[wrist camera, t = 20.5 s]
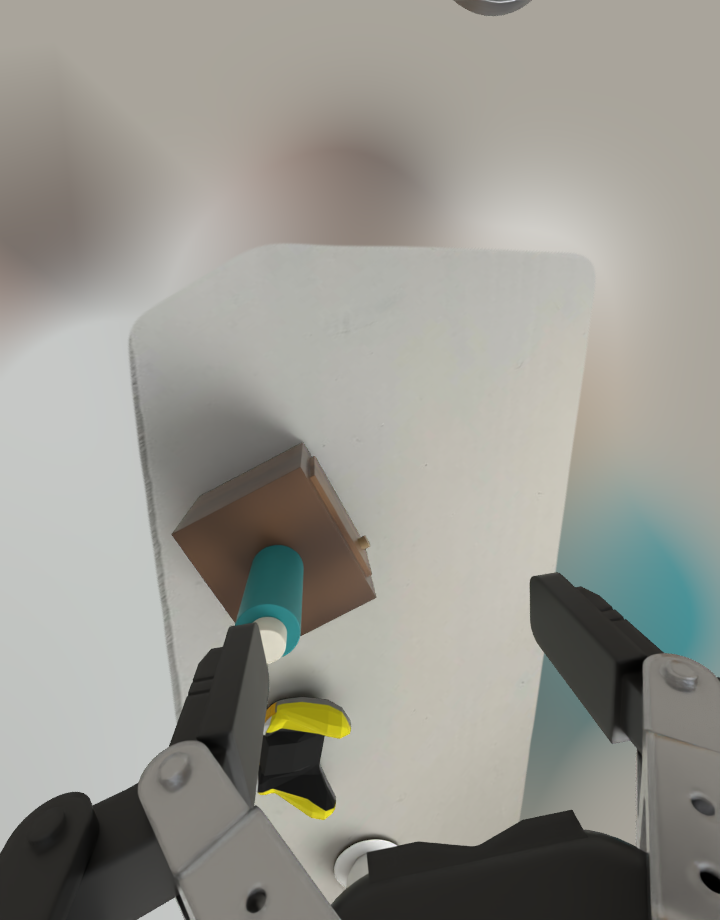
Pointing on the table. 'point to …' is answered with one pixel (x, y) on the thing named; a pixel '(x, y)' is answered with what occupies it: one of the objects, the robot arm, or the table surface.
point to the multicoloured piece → (300, 752)
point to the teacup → (356, 861)
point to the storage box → (280, 536)
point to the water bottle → (274, 599)
